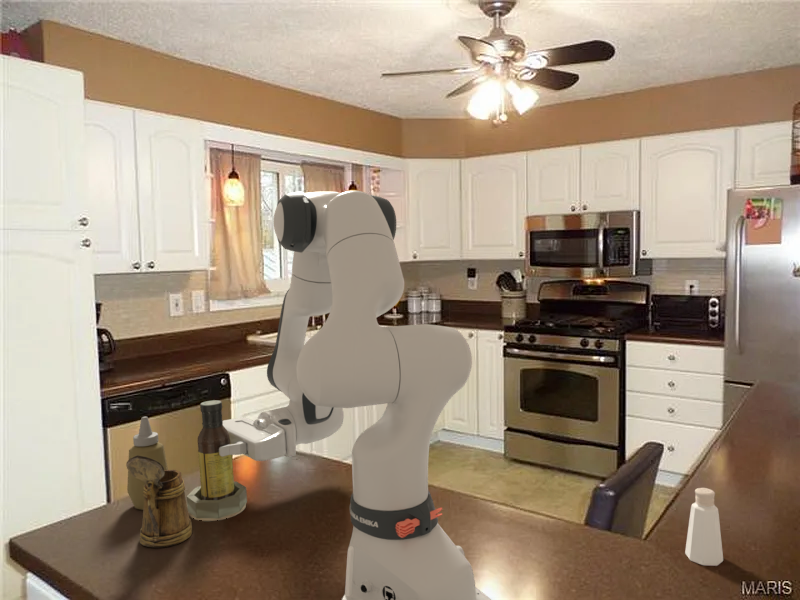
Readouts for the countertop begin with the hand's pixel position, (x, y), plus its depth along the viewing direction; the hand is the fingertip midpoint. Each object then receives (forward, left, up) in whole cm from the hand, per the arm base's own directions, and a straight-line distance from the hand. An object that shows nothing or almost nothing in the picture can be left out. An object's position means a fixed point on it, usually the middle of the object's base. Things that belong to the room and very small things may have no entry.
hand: (210, 447), depth 116 cm
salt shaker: (-73, -49, -13) cm, 89 cm away
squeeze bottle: (+12, +8, -13) cm, 19 cm away
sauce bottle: (0, -1, -11) cm, 11 cm away
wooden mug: (-6, +12, -13) cm, 19 cm away
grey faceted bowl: (0, -1, -13) cm, 13 cm away
